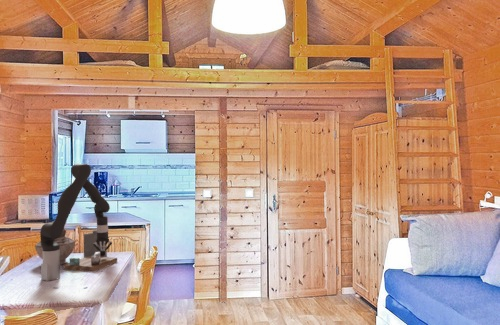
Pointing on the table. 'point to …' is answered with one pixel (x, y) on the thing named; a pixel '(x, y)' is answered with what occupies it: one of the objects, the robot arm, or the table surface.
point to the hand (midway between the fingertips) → (102, 256)
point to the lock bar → (95, 258)
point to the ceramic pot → (65, 247)
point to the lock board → (88, 264)
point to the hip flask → (91, 244)
